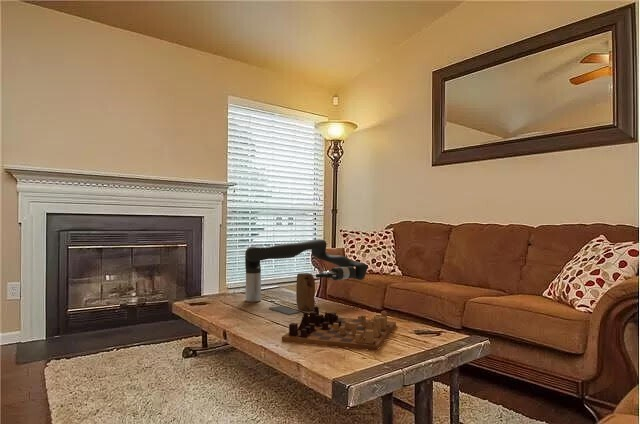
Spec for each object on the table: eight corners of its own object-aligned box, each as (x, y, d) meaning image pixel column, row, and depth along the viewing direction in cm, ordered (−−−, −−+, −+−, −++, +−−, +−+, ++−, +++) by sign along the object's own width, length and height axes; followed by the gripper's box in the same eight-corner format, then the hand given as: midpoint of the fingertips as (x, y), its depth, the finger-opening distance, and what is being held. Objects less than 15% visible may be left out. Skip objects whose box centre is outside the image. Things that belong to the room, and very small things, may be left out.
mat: (268, 308, 242) (268, 307, 242) (280, 306, 246) (280, 305, 246) (288, 314, 226) (288, 313, 226) (300, 312, 230) (300, 311, 230)
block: (295, 308, 241) (295, 273, 241) (306, 307, 245) (306, 271, 246) (305, 312, 232) (305, 275, 232) (317, 310, 236) (316, 273, 237)
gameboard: (377, 352, 164) (376, 328, 164) (281, 343, 178) (281, 320, 178) (395, 327, 201) (395, 307, 201) (316, 320, 215) (315, 302, 215)
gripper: (332, 266, 259) (309, 268, 249) (347, 268, 249) (323, 270, 238) (333, 278, 259) (309, 281, 249) (347, 281, 249) (323, 283, 238)
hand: (316, 275), depth 244 cm, fingers closed
